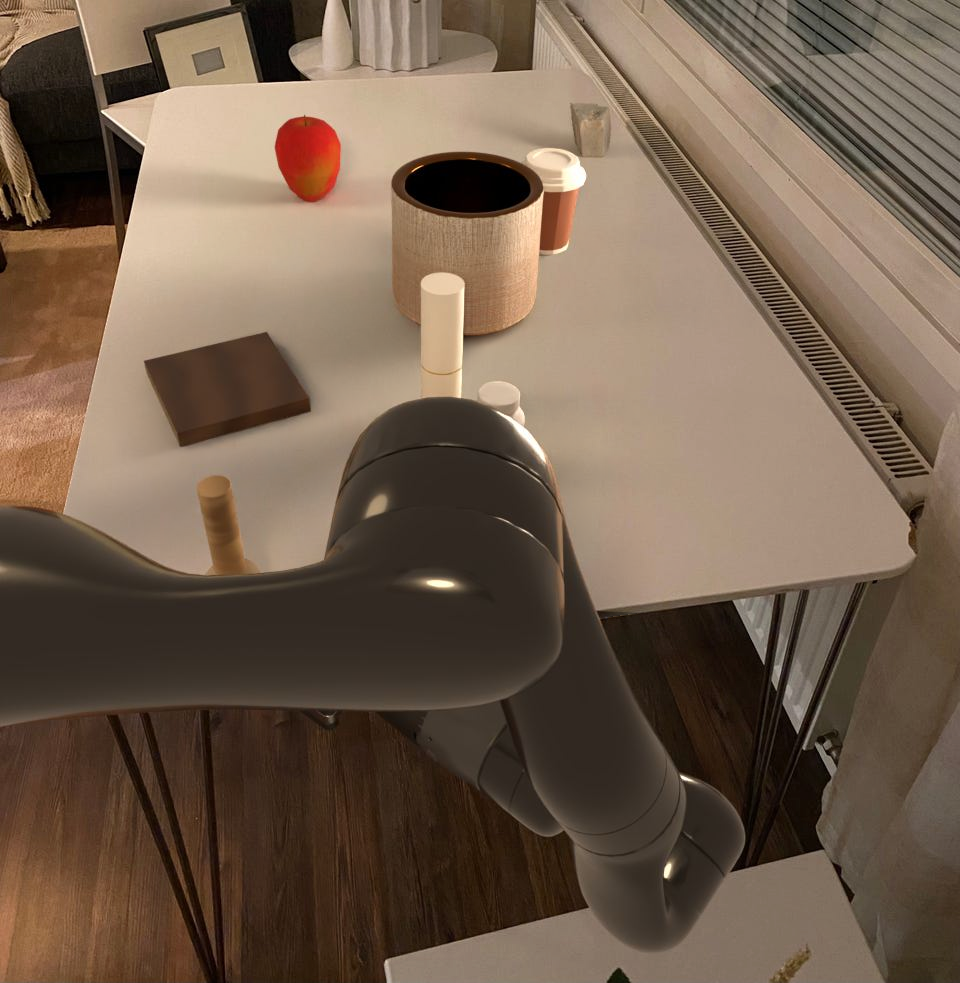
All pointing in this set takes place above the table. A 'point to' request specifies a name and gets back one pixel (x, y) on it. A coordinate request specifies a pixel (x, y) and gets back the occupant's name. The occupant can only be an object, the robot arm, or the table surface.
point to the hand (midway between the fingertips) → (300, 589)
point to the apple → (308, 156)
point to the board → (225, 388)
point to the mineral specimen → (591, 128)
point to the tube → (441, 335)
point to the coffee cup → (556, 195)
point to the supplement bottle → (502, 399)
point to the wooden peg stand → (222, 528)
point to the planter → (468, 234)
